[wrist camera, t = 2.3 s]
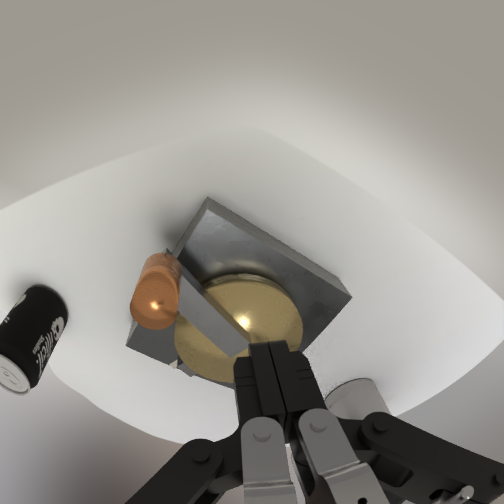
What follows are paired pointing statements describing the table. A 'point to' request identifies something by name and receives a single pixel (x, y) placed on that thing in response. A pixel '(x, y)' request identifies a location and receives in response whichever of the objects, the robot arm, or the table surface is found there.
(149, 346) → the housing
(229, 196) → the table surface
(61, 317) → the beverage can
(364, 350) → the table surface
